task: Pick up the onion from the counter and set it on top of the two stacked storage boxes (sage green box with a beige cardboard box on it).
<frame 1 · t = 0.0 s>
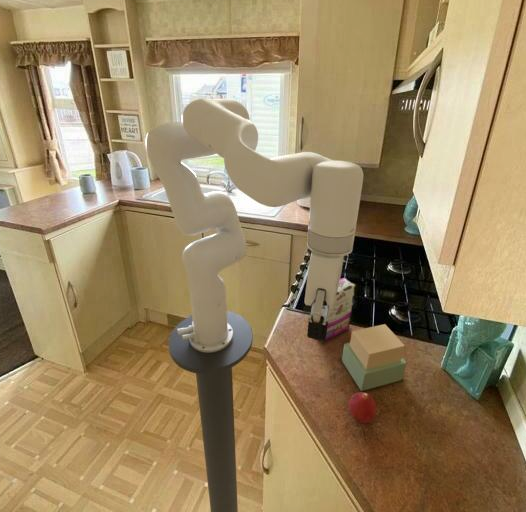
hand: (320, 320, 59), 28 cm above the worktop, tool pointing down, fingers open, 9 cm apart
candy bar box: (330, 331, 96), on the worktop
box stack: (370, 369, 83), on the worktop
onion: (360, 418, 71), on the worktop
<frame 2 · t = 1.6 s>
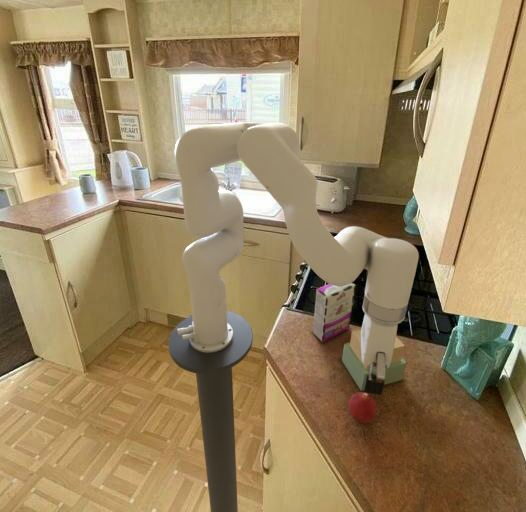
hand: (371, 372, 64), 15 cm above the worktop, tool pointing down, fingers open, 9 cm apart
nothing on the worktop moved.
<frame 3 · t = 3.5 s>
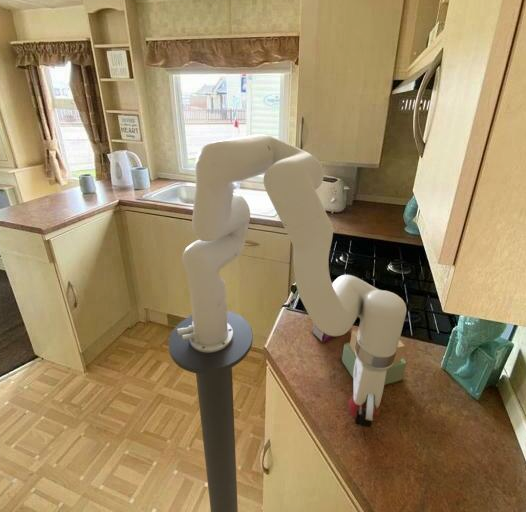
hand: (362, 409, 69), 3 cm above the worktop, tool pointing down, fingers closed on onion, 5 cm apart
onion: (360, 418, 71), on the worktop, touching gripper
everything else where it was.
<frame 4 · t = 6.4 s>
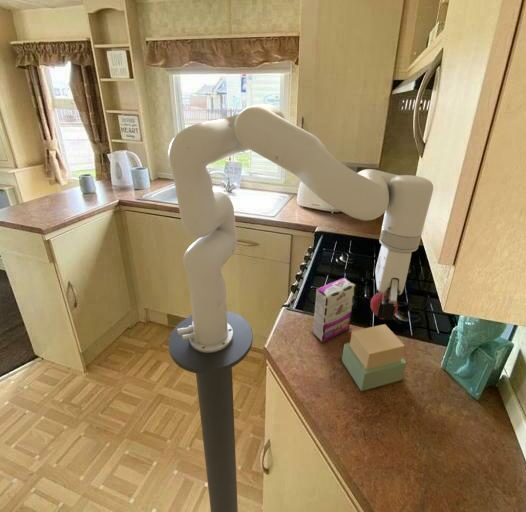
hand: (383, 307, 71), 23 cm above the worktop, tool pointing down, fingers closed on onion, 5 cm apart
onion: (380, 318, 72), point 19 cm above the worktop, touching gripper
everything else where it was.
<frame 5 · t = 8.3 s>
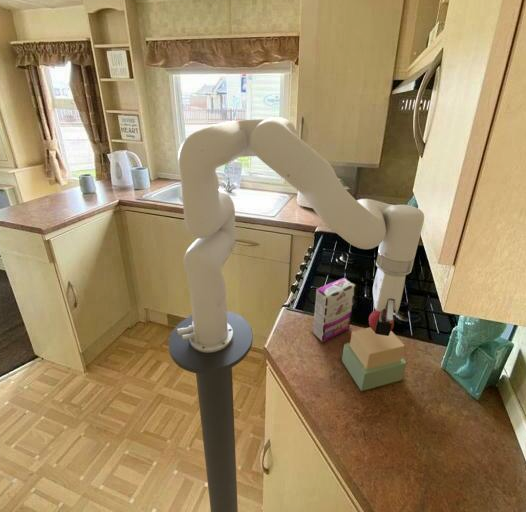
hand: (380, 324, 76), 16 cm above the worktop, tool pointing down, fingers closed on onion, 5 cm apart
onion: (378, 334, 78), point 12 cm above the worktop, touching gripper
everything else where it was.
when the fingers open (14 cm above the worktop, at t = 9.3 s): onion stays where it is, resting on box stack.
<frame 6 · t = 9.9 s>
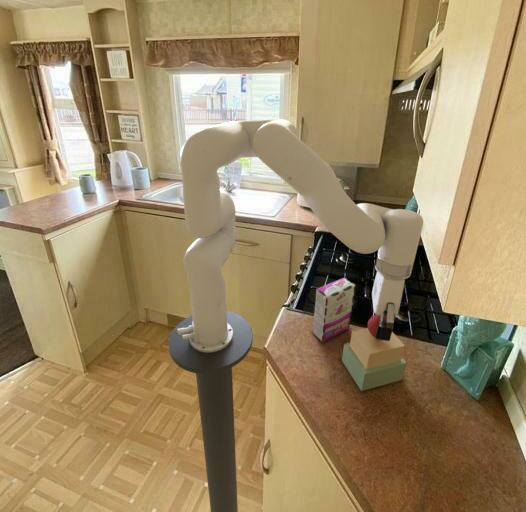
hand: (380, 324, 77), 15 cm above the worktop, tool pointing down, fingers open, 9 cm apart
onion: (377, 338, 78), point 11 cm above the worktop, touching box stack
everything else where it was.
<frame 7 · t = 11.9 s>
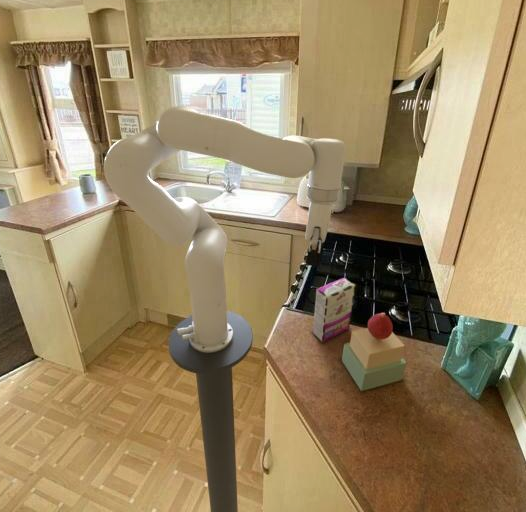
hand: (315, 256, 81), 28 cm above the worktop, tool pointing down, fingers open, 9 cm apart
nothing on the worktop moved.
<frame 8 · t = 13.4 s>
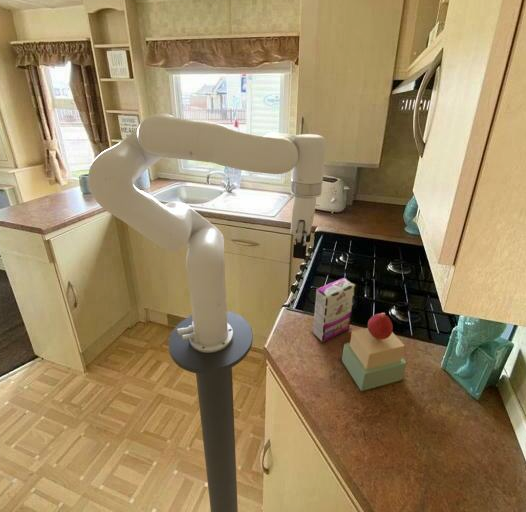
hand: (301, 249, 84), 28 cm above the worktop, tool pointing down, fingers open, 9 cm apart
nothing on the worktop moved.
at the end: onion inside the target area on the box stack (0.0 cm from its centre), point 10.8 cm above the box stack's base; the gripper is holding nothing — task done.
